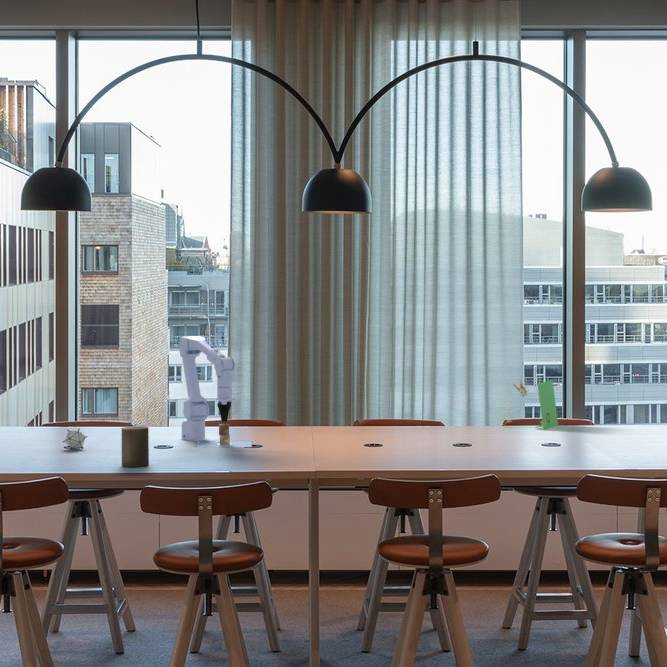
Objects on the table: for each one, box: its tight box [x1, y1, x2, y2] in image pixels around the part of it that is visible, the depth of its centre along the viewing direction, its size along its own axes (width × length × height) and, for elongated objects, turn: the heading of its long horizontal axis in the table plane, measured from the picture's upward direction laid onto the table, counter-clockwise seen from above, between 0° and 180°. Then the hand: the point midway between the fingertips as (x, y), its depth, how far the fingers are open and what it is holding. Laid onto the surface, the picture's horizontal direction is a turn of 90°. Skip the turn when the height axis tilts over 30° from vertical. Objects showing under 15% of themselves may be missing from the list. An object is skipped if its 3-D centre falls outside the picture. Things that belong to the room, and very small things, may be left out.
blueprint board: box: [196, 441, 253, 449], centre depth 433 cm, size 22×15×1 cm
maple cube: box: [219, 433, 231, 445], centre depth 433 cm, size 4×4×4 cm
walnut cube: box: [218, 423, 230, 436], centre depth 432 cm, size 4×4×4 cm
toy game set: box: [498, 378, 559, 431], centre depth 501 cm, size 22×25×24 cm
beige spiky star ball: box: [62, 428, 89, 451], centre depth 423 cm, size 9×8×10 cm
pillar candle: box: [121, 425, 150, 468], centre depth 383 cm, size 10×10×15 cm
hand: (224, 420), depth 432 cm, fingers open, 7 cm apart
